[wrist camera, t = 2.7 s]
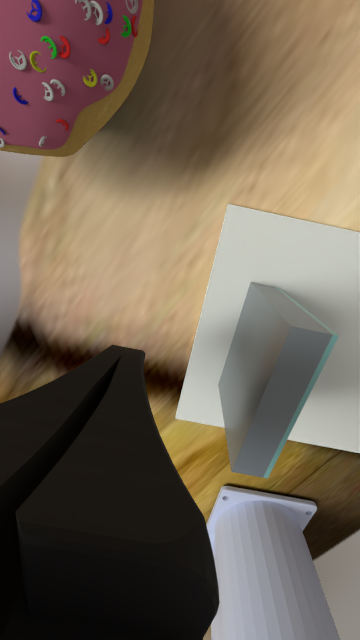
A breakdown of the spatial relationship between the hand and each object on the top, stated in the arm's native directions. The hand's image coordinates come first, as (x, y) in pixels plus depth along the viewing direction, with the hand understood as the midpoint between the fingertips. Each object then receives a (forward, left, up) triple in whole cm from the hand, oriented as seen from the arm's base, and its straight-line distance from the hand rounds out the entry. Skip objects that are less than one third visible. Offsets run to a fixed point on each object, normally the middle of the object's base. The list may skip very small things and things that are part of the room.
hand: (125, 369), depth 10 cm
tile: (0, -6, -5) cm, 8 cm away
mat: (0, -10, -6) cm, 11 cm away
